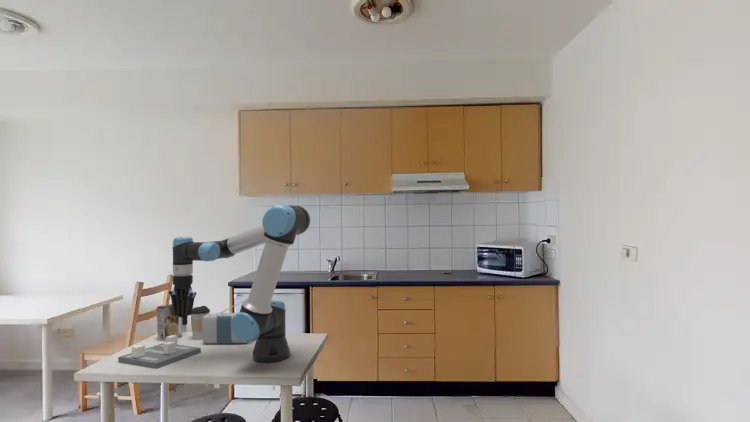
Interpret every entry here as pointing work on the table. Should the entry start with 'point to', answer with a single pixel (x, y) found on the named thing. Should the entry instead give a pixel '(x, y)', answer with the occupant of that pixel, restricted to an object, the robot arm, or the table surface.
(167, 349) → the block
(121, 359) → the breaker panel
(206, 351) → the table surface
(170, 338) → the breaker handle
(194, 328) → the coffee cup
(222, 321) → the stereo radio cassette player
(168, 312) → the coffee box
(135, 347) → the block
